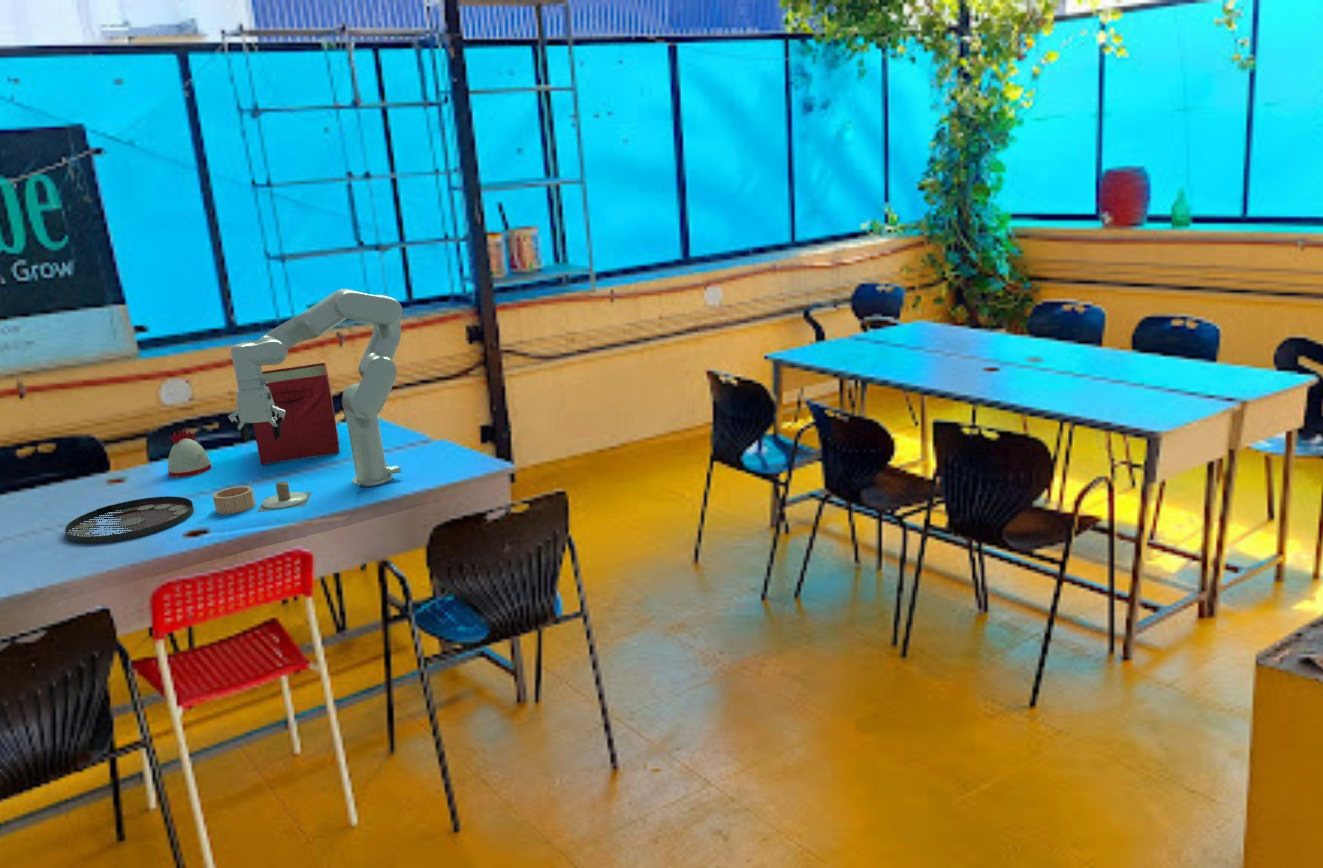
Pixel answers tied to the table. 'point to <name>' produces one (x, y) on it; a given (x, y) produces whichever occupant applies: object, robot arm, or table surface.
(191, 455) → the beanie hat
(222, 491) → the bowl
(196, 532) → the table surface
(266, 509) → the mat
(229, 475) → the table surface
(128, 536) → the palette wheel
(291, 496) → the lid
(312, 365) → the storage cube
